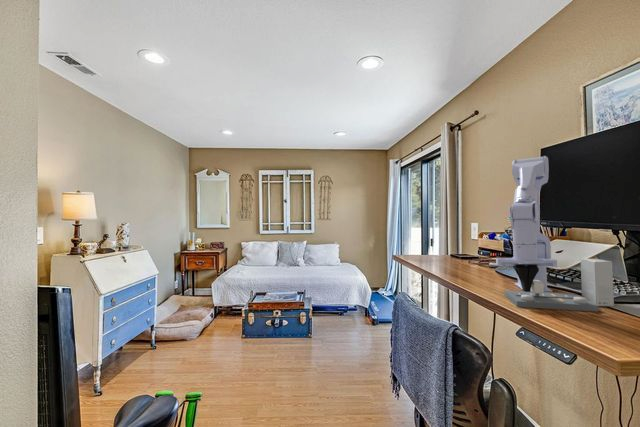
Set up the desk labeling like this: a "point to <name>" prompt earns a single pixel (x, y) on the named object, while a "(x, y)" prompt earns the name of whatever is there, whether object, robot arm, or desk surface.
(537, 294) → the fader tab
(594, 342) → the desk surface
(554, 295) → the console
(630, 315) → the desk surface
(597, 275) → the skincare box
